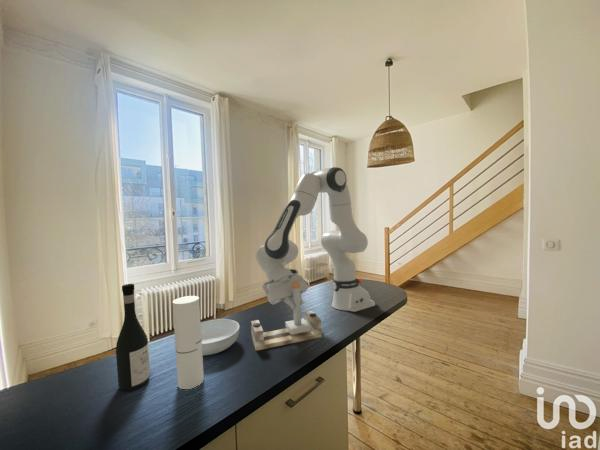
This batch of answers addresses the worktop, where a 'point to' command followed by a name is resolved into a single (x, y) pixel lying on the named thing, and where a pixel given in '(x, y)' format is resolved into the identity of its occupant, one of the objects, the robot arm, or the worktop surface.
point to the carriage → (297, 313)
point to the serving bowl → (218, 335)
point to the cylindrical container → (188, 341)
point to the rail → (284, 333)
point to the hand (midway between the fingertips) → (298, 305)
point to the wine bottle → (131, 347)
